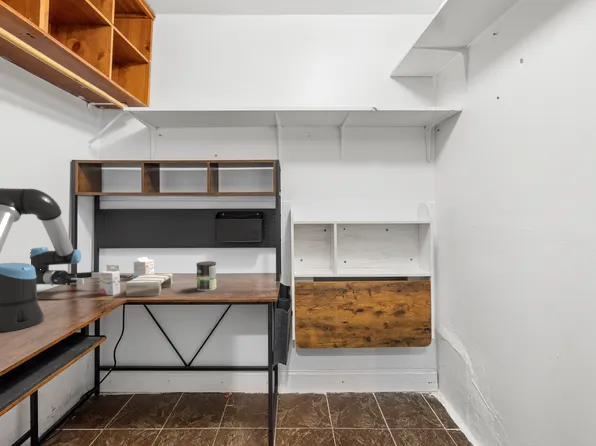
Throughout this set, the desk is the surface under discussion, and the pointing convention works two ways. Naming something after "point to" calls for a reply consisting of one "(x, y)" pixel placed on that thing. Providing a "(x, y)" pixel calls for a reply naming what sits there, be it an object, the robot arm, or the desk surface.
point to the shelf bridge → (148, 284)
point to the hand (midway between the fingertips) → (93, 278)
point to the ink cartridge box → (110, 280)
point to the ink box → (143, 267)
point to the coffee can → (206, 276)
